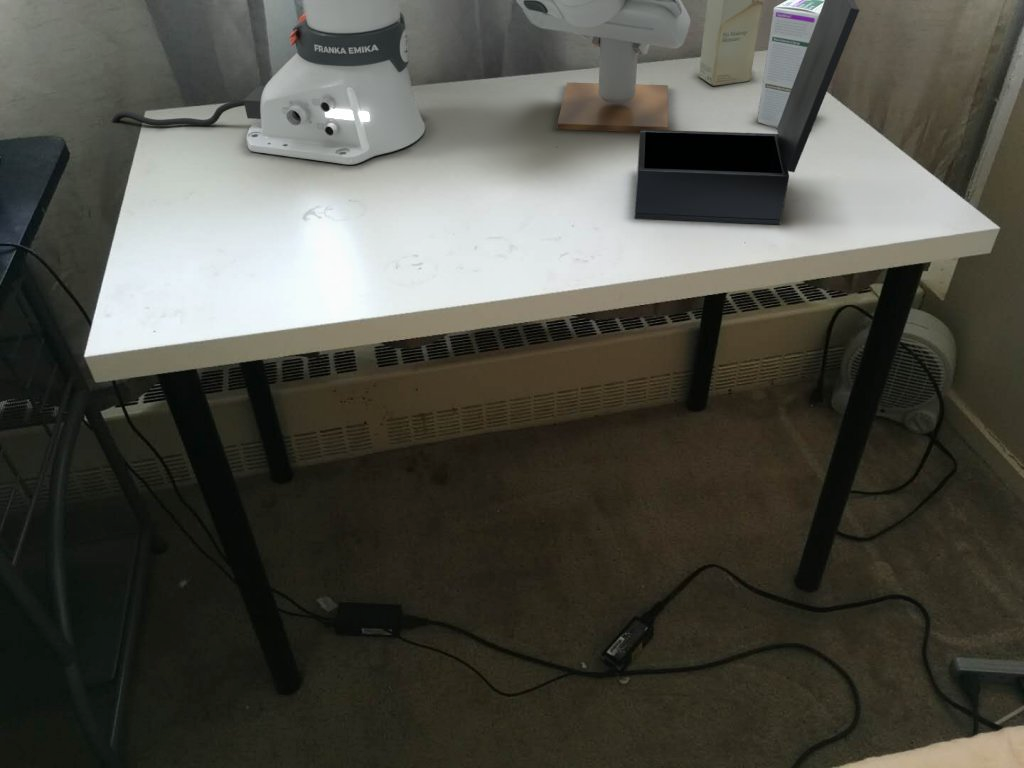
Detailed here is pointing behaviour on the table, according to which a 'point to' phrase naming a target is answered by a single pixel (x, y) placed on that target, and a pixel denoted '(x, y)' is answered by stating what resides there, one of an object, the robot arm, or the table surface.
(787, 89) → the syrup box
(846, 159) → the table surface
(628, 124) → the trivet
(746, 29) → the cosmetic box
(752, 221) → the black open box
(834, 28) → the lid
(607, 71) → the beverage can
